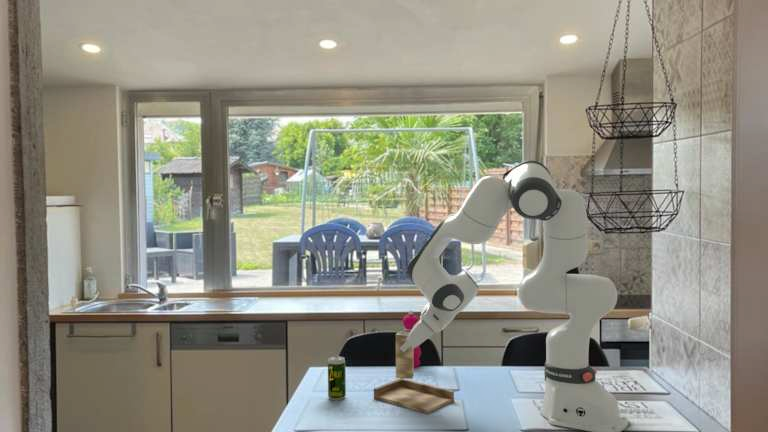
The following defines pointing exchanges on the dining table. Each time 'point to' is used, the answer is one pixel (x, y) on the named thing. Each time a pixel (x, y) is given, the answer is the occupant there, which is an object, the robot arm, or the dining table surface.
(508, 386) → the dining table surface
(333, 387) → the beer can
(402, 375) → the plank offcut
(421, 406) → the wooden tray
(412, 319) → the pepper mill
